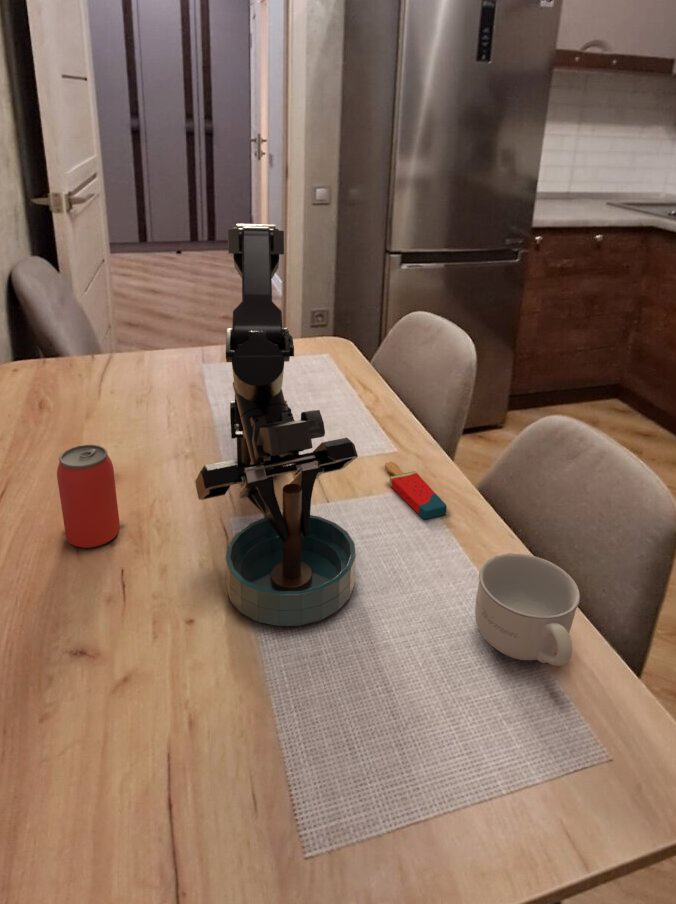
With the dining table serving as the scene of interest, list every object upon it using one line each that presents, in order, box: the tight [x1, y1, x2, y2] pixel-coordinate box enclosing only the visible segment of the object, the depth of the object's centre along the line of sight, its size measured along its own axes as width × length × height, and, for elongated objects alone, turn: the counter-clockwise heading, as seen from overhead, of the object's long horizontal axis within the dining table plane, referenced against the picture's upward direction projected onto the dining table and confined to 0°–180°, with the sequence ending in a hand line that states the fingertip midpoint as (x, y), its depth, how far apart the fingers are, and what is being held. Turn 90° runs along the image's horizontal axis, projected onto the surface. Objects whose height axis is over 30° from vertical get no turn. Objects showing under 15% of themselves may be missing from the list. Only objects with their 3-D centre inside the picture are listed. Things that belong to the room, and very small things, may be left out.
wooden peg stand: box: [271, 483, 312, 591], centre depth 79 cm, size 5×5×13 cm
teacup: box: [474, 552, 581, 667], centre depth 72 cm, size 14×11×8 cm
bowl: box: [224, 513, 357, 627], centre depth 80 cm, size 15×15×5 cm
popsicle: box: [384, 461, 448, 520], centre depth 102 cm, size 5×2×15 cm
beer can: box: [56, 444, 121, 549], centre depth 85 cm, size 7×7×12 cm
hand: (296, 538), depth 77 cm, fingers closed on wooden peg stand, 2 cm apart
